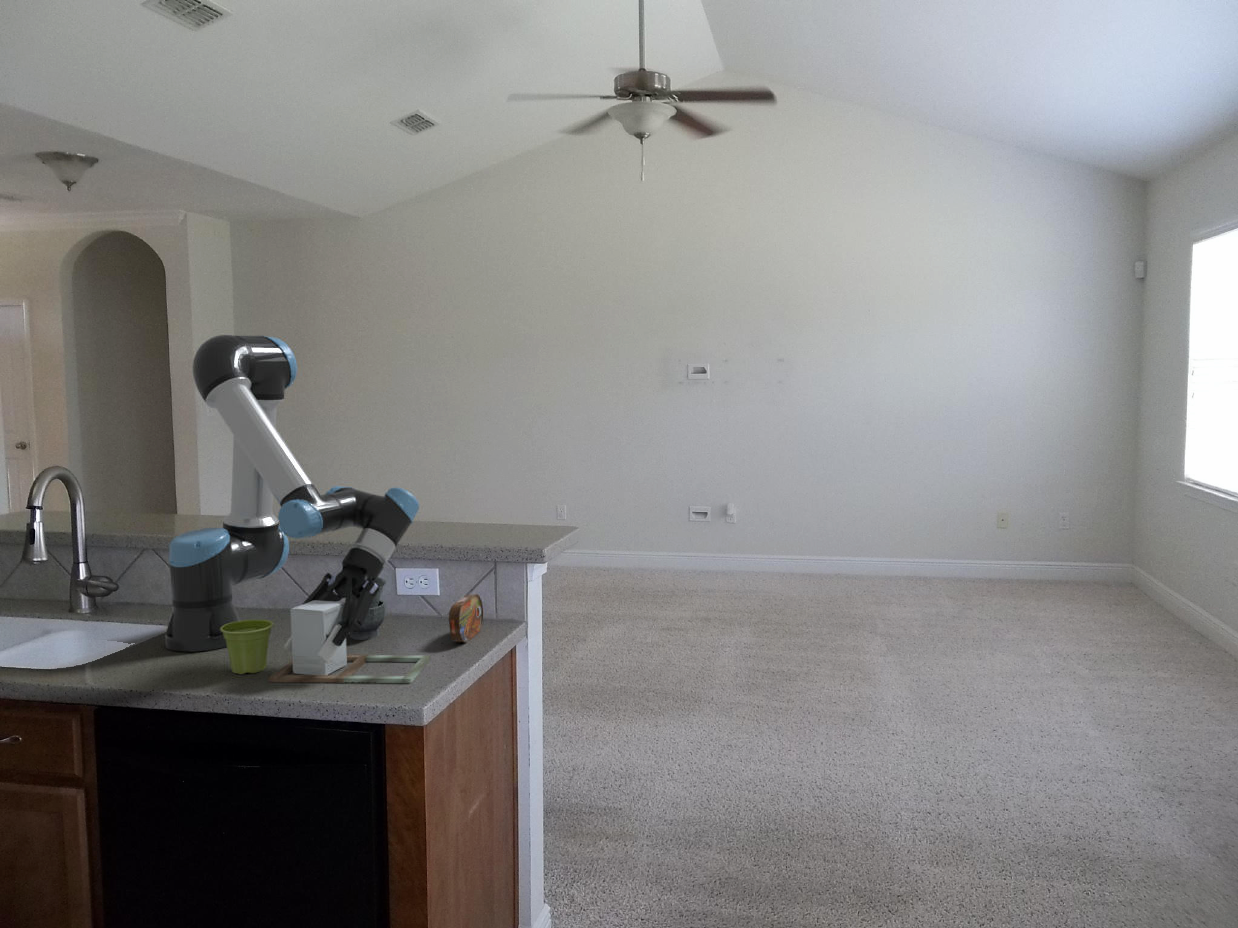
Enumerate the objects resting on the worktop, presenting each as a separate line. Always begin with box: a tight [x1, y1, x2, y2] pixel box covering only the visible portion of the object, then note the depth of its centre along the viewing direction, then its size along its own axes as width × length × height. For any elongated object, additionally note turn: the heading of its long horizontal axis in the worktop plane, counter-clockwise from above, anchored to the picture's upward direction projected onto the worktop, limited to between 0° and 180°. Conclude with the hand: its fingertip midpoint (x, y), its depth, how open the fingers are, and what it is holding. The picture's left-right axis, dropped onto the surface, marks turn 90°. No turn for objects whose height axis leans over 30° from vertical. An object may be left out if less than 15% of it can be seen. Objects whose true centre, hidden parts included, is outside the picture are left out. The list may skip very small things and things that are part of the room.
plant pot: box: [220, 619, 274, 675], centre depth 182 cm, size 9×9×9 cm
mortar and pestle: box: [349, 576, 388, 641], centre depth 205 cm, size 11×9×12 cm
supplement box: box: [290, 600, 348, 675], centre depth 181 cm, size 7×7×13 cm
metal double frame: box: [268, 654, 432, 684], centre depth 181 cm, size 26×14×1 cm, turn 86°
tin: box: [448, 593, 484, 644], centre depth 203 cm, size 15×3×8 cm, turn 170°
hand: (305, 654), depth 179 cm, fingers open, 9 cm apart
